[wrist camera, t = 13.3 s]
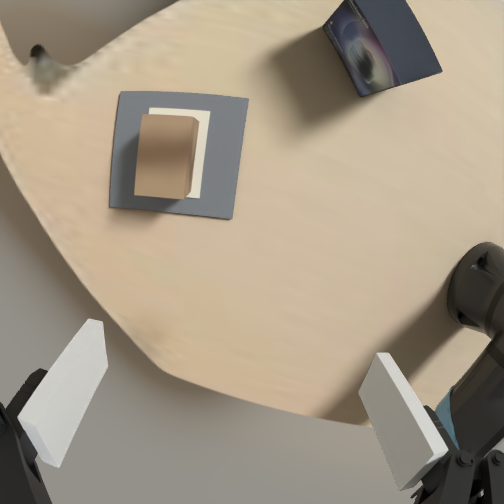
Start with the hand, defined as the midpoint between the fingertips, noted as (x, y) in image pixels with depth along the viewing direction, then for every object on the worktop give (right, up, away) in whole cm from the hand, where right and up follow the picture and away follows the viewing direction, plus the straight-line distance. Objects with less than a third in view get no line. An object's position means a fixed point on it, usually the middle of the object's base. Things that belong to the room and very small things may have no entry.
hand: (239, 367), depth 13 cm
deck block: (-8, +16, +19) cm, 26 cm away
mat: (-8, +17, +19) cm, 27 cm away
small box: (+14, +29, +17) cm, 37 cm away
